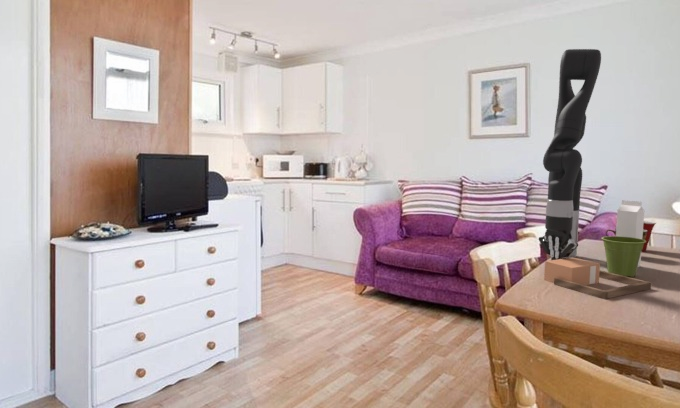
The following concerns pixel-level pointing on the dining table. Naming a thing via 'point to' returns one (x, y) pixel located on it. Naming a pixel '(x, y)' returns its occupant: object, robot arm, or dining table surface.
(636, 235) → the milk
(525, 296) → the dining table surface
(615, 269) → the plant pot
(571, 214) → the robot arm
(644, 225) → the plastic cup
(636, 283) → the tray
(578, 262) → the carton
